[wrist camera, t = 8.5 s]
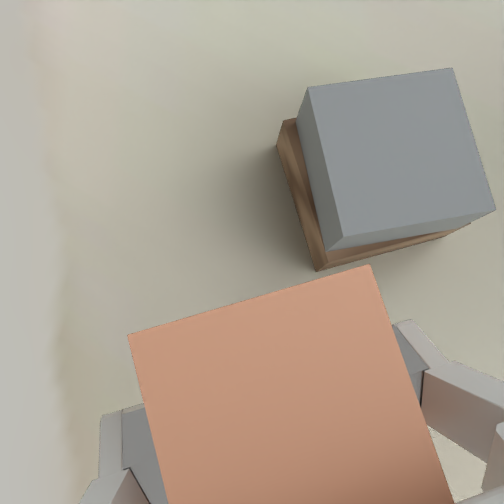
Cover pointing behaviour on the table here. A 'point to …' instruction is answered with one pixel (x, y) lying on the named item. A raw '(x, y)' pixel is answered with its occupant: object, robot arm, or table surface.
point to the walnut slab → (307, 214)
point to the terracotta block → (288, 401)
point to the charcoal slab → (391, 158)
